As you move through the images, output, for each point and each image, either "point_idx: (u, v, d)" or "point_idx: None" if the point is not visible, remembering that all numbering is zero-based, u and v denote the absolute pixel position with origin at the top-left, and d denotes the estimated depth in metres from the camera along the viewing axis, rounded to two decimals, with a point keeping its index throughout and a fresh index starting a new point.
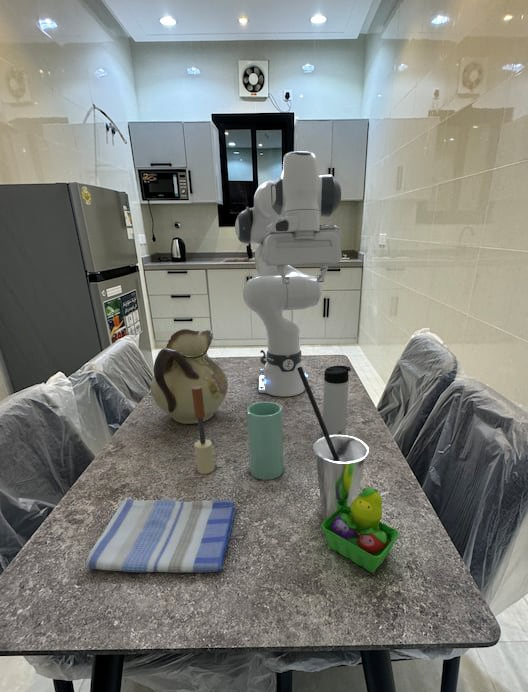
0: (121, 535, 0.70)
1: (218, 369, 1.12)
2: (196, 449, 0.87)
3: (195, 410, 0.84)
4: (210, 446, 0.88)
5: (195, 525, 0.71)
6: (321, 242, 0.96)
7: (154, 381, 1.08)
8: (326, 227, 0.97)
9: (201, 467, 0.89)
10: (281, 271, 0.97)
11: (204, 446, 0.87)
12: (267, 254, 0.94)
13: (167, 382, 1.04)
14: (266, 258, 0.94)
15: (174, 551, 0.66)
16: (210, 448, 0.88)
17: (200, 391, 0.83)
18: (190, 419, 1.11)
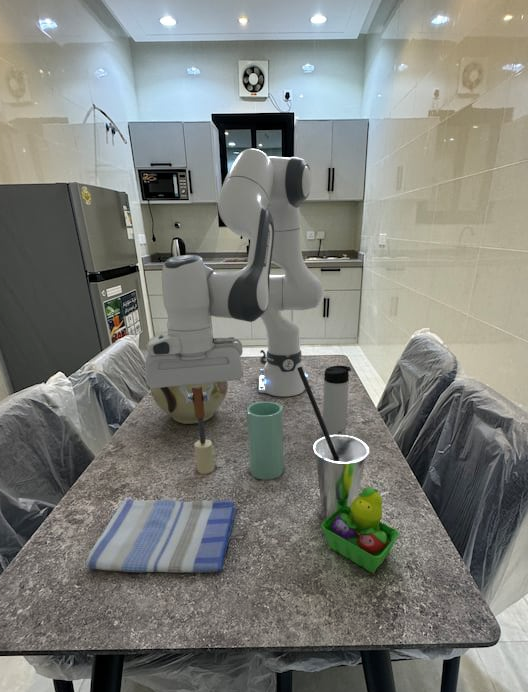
0: (121, 535, 0.70)
1: None
2: (196, 449, 0.87)
3: (195, 410, 0.84)
4: (210, 446, 0.88)
5: (195, 525, 0.71)
6: (215, 360, 0.80)
7: None
8: (222, 341, 0.80)
9: (201, 467, 0.89)
10: (182, 391, 0.81)
11: (204, 446, 0.87)
12: (147, 378, 0.78)
13: None
14: (146, 381, 0.78)
15: (174, 551, 0.66)
16: (210, 448, 0.88)
17: (200, 391, 0.83)
18: (190, 419, 1.11)
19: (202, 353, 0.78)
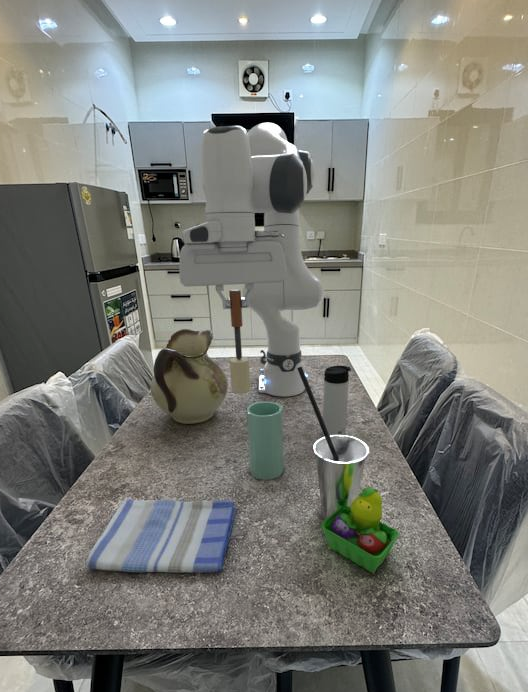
0: (121, 535, 0.70)
1: (218, 369, 1.12)
2: (232, 364, 0.79)
3: (232, 317, 0.76)
4: (247, 362, 0.79)
5: (195, 525, 0.71)
6: (257, 256, 0.71)
7: (154, 381, 1.08)
8: (265, 234, 0.71)
9: (237, 386, 0.80)
10: (219, 293, 0.73)
11: (241, 361, 0.79)
12: (181, 272, 0.69)
13: (167, 382, 1.04)
14: (180, 277, 0.70)
15: (174, 551, 0.66)
16: (247, 364, 0.79)
17: (239, 294, 0.74)
18: (190, 419, 1.11)
19: (243, 245, 0.69)
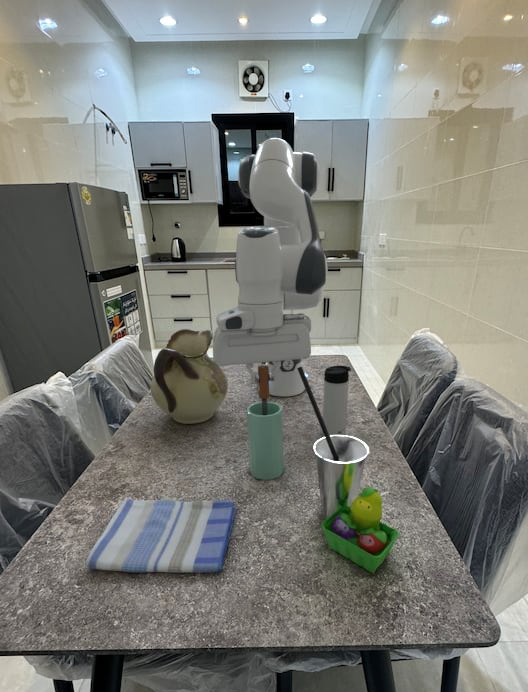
0: (121, 535, 0.70)
1: (218, 369, 1.12)
2: None
3: (260, 390, 0.81)
4: None
5: (195, 525, 0.71)
6: (285, 337, 0.77)
7: (154, 381, 1.08)
8: (292, 317, 0.77)
9: None
10: (249, 369, 0.79)
11: None
12: (216, 354, 0.75)
13: (167, 382, 1.04)
14: (215, 358, 0.75)
15: (174, 551, 0.66)
16: None
17: (267, 370, 0.80)
18: (190, 419, 1.11)
19: (273, 329, 0.75)
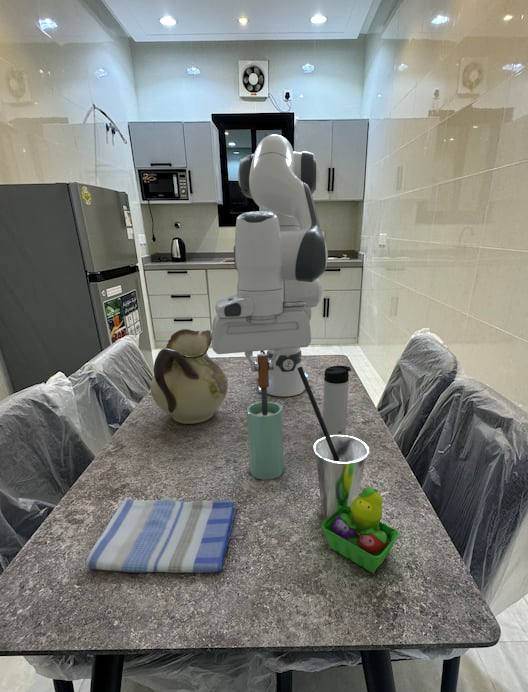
0: (121, 535, 0.70)
1: (218, 369, 1.12)
2: None
3: (260, 379, 0.80)
4: None
5: (195, 525, 0.71)
6: (285, 325, 0.76)
7: (154, 381, 1.08)
8: (292, 305, 0.76)
9: None
10: (248, 358, 0.78)
11: None
12: (215, 342, 0.74)
13: (167, 382, 1.04)
14: (214, 347, 0.74)
15: (174, 551, 0.66)
16: None
17: (266, 359, 0.79)
18: (190, 419, 1.11)
19: (273, 316, 0.74)
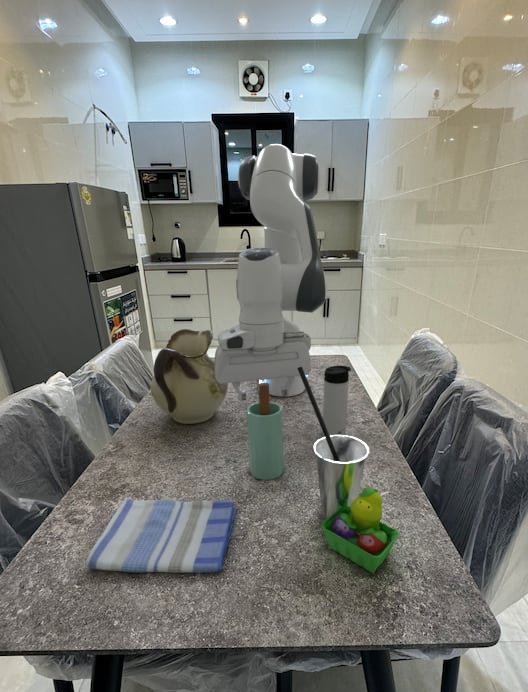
0: (121, 535, 0.70)
1: None
2: None
3: (261, 407, 0.83)
4: None
5: (195, 525, 0.71)
6: (285, 355, 0.79)
7: (154, 381, 1.08)
8: (292, 335, 0.79)
9: None
10: (236, 388, 0.80)
11: None
12: (217, 372, 0.76)
13: (167, 382, 1.04)
14: (216, 376, 0.77)
15: (174, 551, 0.66)
16: None
17: (267, 388, 0.81)
18: (190, 419, 1.11)
19: (273, 347, 0.77)
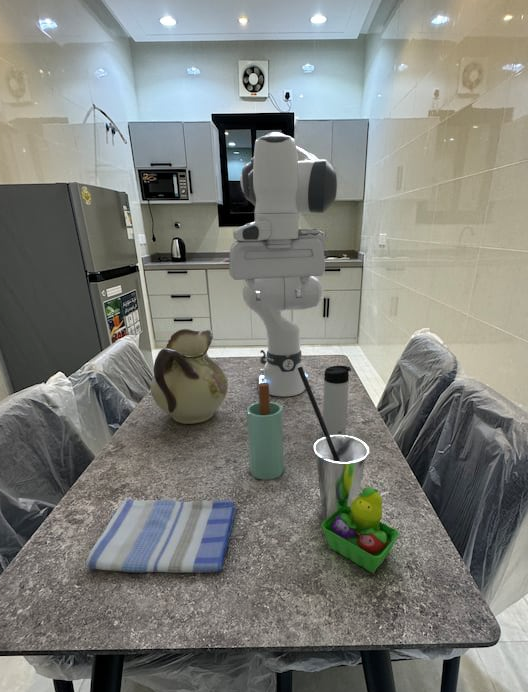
0: (121, 535, 0.70)
1: (218, 369, 1.12)
2: None
3: (261, 407, 0.83)
4: None
5: (195, 525, 0.71)
6: (300, 252, 0.79)
7: (154, 381, 1.08)
8: (307, 232, 0.79)
9: None
10: (251, 286, 0.80)
11: None
12: (233, 267, 0.77)
13: (167, 382, 1.04)
14: (232, 271, 0.77)
15: (174, 551, 0.66)
16: None
17: (267, 388, 0.81)
18: (190, 419, 1.11)
19: (289, 242, 0.77)
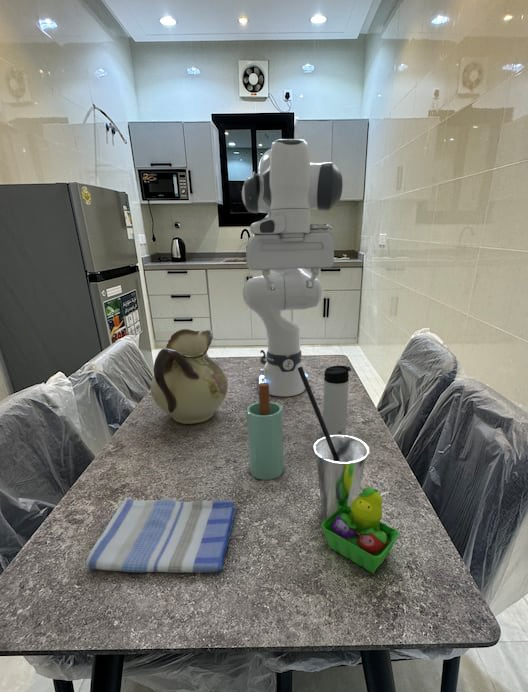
0: (121, 535, 0.70)
1: (218, 369, 1.12)
2: None
3: (261, 407, 0.83)
4: None
5: (195, 525, 0.71)
6: (311, 245, 0.86)
7: (154, 381, 1.08)
8: (318, 227, 0.86)
9: None
10: (266, 276, 0.87)
11: None
12: (250, 258, 0.84)
13: (167, 382, 1.04)
14: (249, 262, 0.84)
15: (174, 551, 0.66)
16: None
17: (267, 388, 0.81)
18: (190, 419, 1.11)
19: (301, 235, 0.84)
